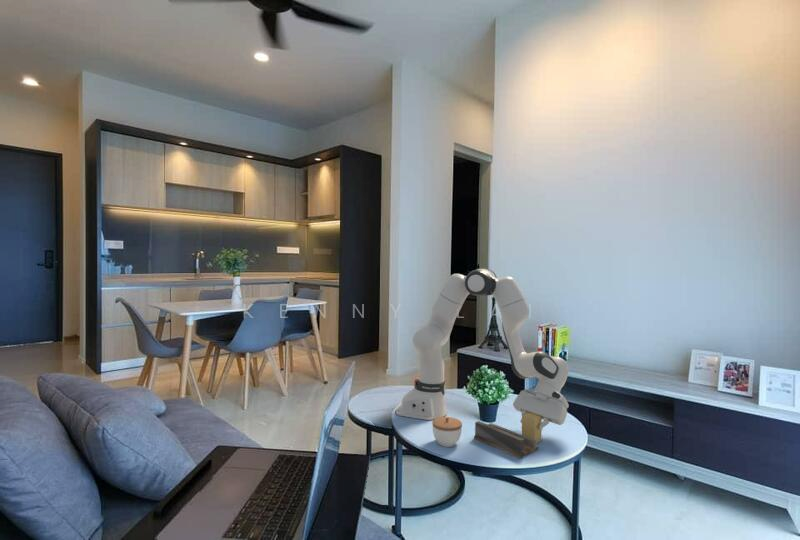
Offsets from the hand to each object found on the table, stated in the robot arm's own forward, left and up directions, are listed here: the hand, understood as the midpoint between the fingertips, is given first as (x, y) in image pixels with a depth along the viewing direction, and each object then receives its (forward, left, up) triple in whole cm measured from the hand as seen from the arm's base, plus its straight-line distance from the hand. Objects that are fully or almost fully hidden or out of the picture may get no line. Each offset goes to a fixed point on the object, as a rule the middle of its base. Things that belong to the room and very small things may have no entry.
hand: (530, 426), depth 152 cm
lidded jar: (-31, -10, -5) cm, 32 cm away
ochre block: (0, 0, -5) cm, 5 cm away
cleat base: (-10, -6, -5) cm, 12 cm away
